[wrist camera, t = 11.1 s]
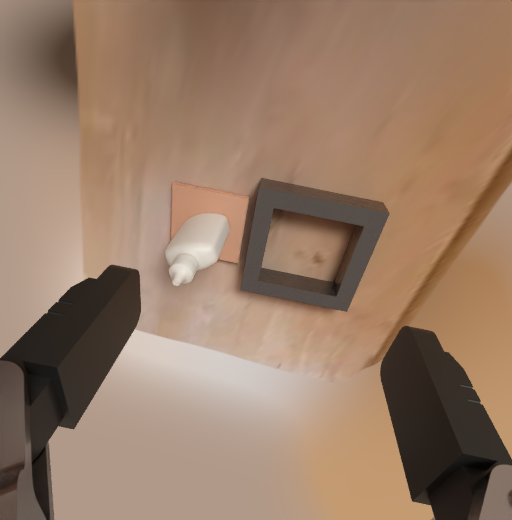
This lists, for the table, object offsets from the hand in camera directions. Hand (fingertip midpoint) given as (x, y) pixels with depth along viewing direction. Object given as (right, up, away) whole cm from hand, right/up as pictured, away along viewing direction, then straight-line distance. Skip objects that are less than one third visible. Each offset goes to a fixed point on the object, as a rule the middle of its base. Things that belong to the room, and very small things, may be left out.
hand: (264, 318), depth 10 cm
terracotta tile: (-6, +6, +30) cm, 31 cm away
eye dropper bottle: (-6, +6, +30) cm, 31 cm away
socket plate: (+6, +4, +30) cm, 31 cm away
